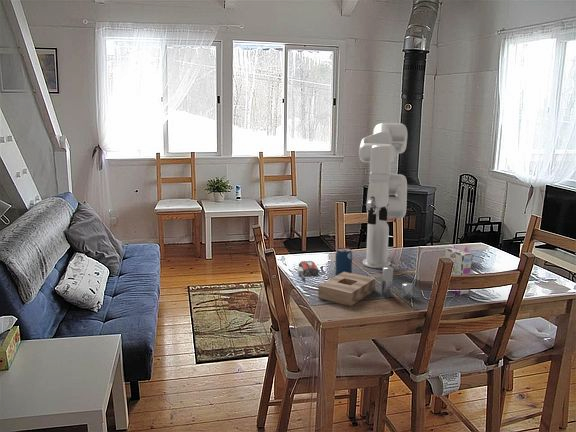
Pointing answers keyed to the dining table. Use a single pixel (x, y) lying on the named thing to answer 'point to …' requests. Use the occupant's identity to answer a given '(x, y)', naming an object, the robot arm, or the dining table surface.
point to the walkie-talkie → (307, 269)
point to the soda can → (343, 261)
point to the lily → (467, 248)
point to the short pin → (407, 290)
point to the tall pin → (387, 281)
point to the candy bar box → (460, 263)
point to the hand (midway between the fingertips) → (377, 222)
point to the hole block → (346, 288)
